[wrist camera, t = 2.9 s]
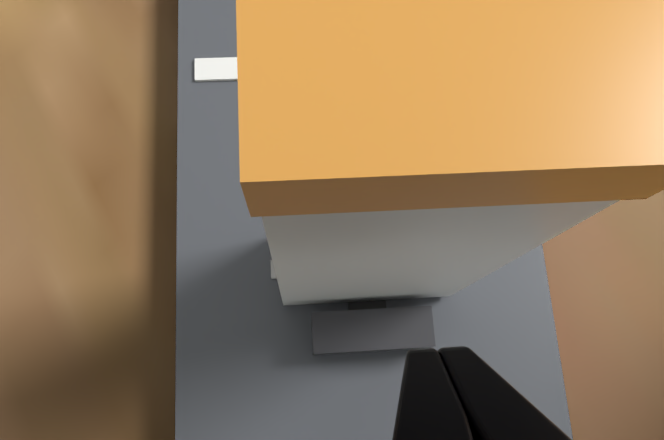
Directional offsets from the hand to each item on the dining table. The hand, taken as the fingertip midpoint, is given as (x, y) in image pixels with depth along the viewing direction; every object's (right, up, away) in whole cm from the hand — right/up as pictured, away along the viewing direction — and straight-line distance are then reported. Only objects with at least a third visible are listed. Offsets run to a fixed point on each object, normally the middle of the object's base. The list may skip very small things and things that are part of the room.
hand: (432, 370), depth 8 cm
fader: (0, +1, +8) cm, 8 cm away
